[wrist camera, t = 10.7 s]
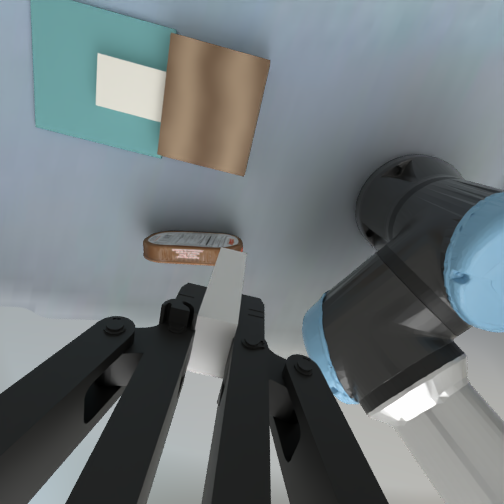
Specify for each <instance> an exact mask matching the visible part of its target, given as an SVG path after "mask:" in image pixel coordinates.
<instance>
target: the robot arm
mask: <svg viewBox="0 0 504 504" xmlns="http://www.w3.org/2000/svg"><path fill="white" fill-rule="evenodd" d="M356 221H357V225H358V228H359V230H360V232H361V234H362V235H363V236H364V238H365V239H366V240H367V241H368V242H369V243H370V244H371V245H372V246H373V247H374V248H376V249H377V250H379V251H378V252H377V253H375V254H373V255H372V256H371V257H370V258H369V259H367V260H366V261H365V262H364V263H363V264H361V265H360V266H359V267H358V268H357V269H355V270H354V271H353V272H352V273H351V274H350V275H348V276H347V277H346V278H345V279H343V280H342V281H341V282H340V283H338V284H337V285H336V286H335V287H333V288H332V289H331V290H329V291H327V292H325V293H324V294H323V295H322V297H321V299H320V300H319V301H318V302H317V303H315V304H314V305H313V306H312V307H311V308H310V309H309V310H308V311H307V312H306V314H305V316H304V319H303V327H302V334H303V340H304V344H305V347H306V351H307V353H308V356H309V358H308V357H306V356H304V355H298V354H297V355H291V356H290V357H288V359H287V360H286V359H284V358H282V357H280V356H278V355H276V354H274V353H273V352H272V351H271V350H270V349H269V348H268V345H267V342H266V341H265V339H264V304H263V302H262V301H261V299H260V298H256V297H251V296H247V295H243V294H242V288H243V281H244V273H245V265H246V257H247V253H244V252H240V251H235V250H231V249H227V248H223V247H221V249H220V252H219V255H218V258H217V261H216V264H215V266H214V269H213V272H212V275H211V278H210V281H209V284H208V287H204V286H200V285H196V284H191V283H188V284H186V285H184V286H183V287H181V289H180V291H179V293H178V295H177V297H176V299H170V300H168V301H165V302H164V303H163V304H162V307H161V314H160V321H159V325H157V326H154V327H148V328H135V325H134V323H133V321H131V320H130V319H128V318H125V317H121V316H112V317H108V318H104V319H102V320H101V321H99V322H97V323H96V324H95V325H93V326H92V327H91V328H89V329H88V330H86V331H85V332H84V333H82V334H81V335H80V336H78V337H77V338H76V339H74V340H73V341H72V342H70V343H69V344H68V345H66V346H65V347H63V348H62V349H61V350H59V351H58V352H57V353H55V354H54V355H53V356H51V357H50V358H48V359H47V360H46V361H44V362H43V363H42V364H40V365H39V366H38V367H36V368H35V369H34V370H32V371H31V372H30V373H28V374H27V375H25V376H24V377H23V378H22V379H20V380H19V381H17V382H16V383H15V384H13V385H12V386H11V387H9V388H8V389H6V390H5V391H4V392H2V393H1V394H0V504H28V502H29V501H30V500H31V499H32V498H33V497H34V495H35V494H36V493H37V492H38V491H39V489H41V487H42V486H43V485H44V484H45V483H46V482H47V480H48V479H49V478H50V477H51V476H52V475H53V473H54V472H55V471H56V470H57V469H58V468H59V466H60V465H61V464H62V463H63V462H64V461H65V460H66V458H67V457H68V456H69V455H70V454H71V453H72V452H73V450H74V449H75V448H76V447H77V446H78V444H79V443H80V442H81V441H82V440H83V439H84V438H85V437H86V435H87V434H88V433H89V432H90V431H91V430H92V428H93V427H94V426H95V425H96V424H97V423H98V422H99V420H100V419H101V418H102V417H103V416H104V415H105V413H106V412H107V411H108V410H109V409H110V408H111V407H112V405H113V404H114V403H115V402H116V401H117V399H118V398H119V397H120V396H121V395H122V396H121V398H120V400H119V402H118V403H117V405H116V407H115V409H114V411H113V413H112V415H111V417H110V419H109V421H108V423H107V425H106V427H105V428H104V430H103V432H102V434H101V436H100V438H99V440H98V442H97V444H96V446H95V448H94V450H93V452H92V453H91V455H90V457H89V459H88V461H87V463H86V465H85V467H84V469H83V471H82V473H81V475H80V476H79V479H78V480H77V482H76V484H75V486H74V488H73V490H72V492H71V494H70V496H69V498H68V500H67V502H66V503H65V504H146V503H147V500H148V497H149V493H150V490H151V487H152V483H153V480H154V477H155V474H156V470H157V467H158V464H159V461H160V457H161V454H162V451H163V448H164V444H165V441H166V438H167V434H168V431H169V428H170V425H171V422H172V418H173V415H174V411H175V409H176V405H177V402H178V398H179V395H180V392H181V389H182V386H183V382H184V377H185V373H186V371H189V372H194V373H199V374H204V375H209V376H213V377H218V378H223V377H224V378H223V382H222V386H221V389H220V393H219V397H218V400H217V404H218V407H217V414H216V420H215V426H214V432H213V438H212V444H211V450H210V456H209V462H208V468H207V474H206V480H205V486H204V492H203V498H202V504H271V495H270V494H271V489H270V430H269V425H270V429H271V432H272V436H273V440H274V444H275V448H276V451H277V456H278V459H279V463H280V467H281V471H282V475H283V478H284V482H285V486H286V490H287V494H288V498H289V502H290V504H389V503H388V502H387V499H386V498H385V496H384V494H383V492H382V490H381V488H380V486H379V484H378V482H377V480H376V478H375V476H374V474H373V472H372V470H371V468H370V466H369V464H368V462H367V460H366V458H365V456H364V454H363V452H362V450H361V448H360V446H359V444H358V442H357V440H356V438H355V437H354V434H353V432H352V430H351V428H350V427H349V425H348V423H347V421H346V419H345V417H344V415H343V413H342V411H341V409H340V407H339V405H338V403H337V401H336V399H335V397H336V398H338V399H339V400H340V401H342V402H344V403H346V404H359V403H360V404H361V406H362V407H363V409H364V411H365V412H366V414H367V415H368V417H369V418H371V419H374V420H378V421H381V422H384V423H386V424H389V425H390V426H392V427H393V428H394V429H395V431H396V432H397V434H398V435H399V436H400V438H401V439H402V441H403V442H404V444H405V445H406V447H407V448H408V450H409V451H410V453H411V454H412V456H413V457H414V459H415V460H416V462H417V463H418V464H419V466H420V467H421V469H422V470H423V472H424V473H425V475H426V476H427V478H428V479H429V481H430V482H431V483H432V485H433V487H434V488H435V489H436V491H437V493H438V494H439V495H440V497H441V498H442V500H443V501H444V503H445V504H504V421H503V420H502V419H501V418H500V416H499V415H498V414H497V413H496V412H495V411H494V410H493V409H492V408H491V406H490V405H489V404H488V403H487V402H486V401H485V400H484V398H483V397H481V395H480V394H479V393H478V392H477V391H476V389H475V388H474V387H473V386H472V385H471V384H470V382H469V380H468V378H467V370H468V367H467V365H468V363H467V362H468V357H467V355H466V354H465V353H464V352H463V351H462V350H461V349H460V348H459V347H458V346H457V345H456V344H455V343H454V341H453V339H454V338H456V337H457V336H459V335H460V334H462V333H463V332H465V331H466V330H468V329H469V328H471V327H473V326H474V327H476V328H480V329H483V330H486V331H491V332H504V190H501V189H497V188H494V187H490V186H486V185H482V184H478V183H474V182H471V181H467V180H465V179H464V178H463V177H462V176H461V174H460V173H459V172H458V171H457V170H456V169H455V168H454V167H453V166H452V165H450V164H449V163H447V162H445V161H443V160H441V159H438V158H435V157H430V156H425V155H408V156H403V157H399V158H396V159H394V160H392V161H390V162H388V163H386V164H384V165H383V166H381V167H380V168H379V169H378V170H376V171H375V172H374V173H373V174H372V175H371V176H370V177H369V179H368V180H367V181H366V183H365V184H364V186H363V187H362V189H361V191H360V194H359V196H358V200H357V204H356ZM334 396H335V397H334Z"/></svg>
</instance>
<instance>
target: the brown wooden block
mask: <svg viewBox="0 0 504 504" xmlns="http://www.w3.org/2000/svg"><path fill="white" fill-rule="evenodd" d="M269 67H270V60H267V59H264V58H260V57H257V56H253V55H249V54H246V53H242V52H239V51H235V50H232V49H228V48H224V47H221V46H217V45H214V44H210V43H207V42H203V41H199V40H196V39H192V38H189V37H185V36H182V35H178V34H174V33H171V35H170V44H169V53H168V62H167V71H166V80H165V89H164V98H163V107H162V116H161V125H160V134H159V143H158V152H157V155H161V156H165V157H168V158H172V159H176V160H180V161H184V162H188V163H192V164H196V165H200V166H204V167H208V168H212V169H216V170H220V171H224V172H228V173H232V174H236V175H239V176H243V177H244V175H245V172H246V168H247V163H248V159H249V155H250V150H251V146H252V141H253V137H254V133H255V128H256V124H257V120H258V115H259V111H260V107H261V102H262V98H263V94H264V89H265V85H266V80H267V76H268V72H269Z"/></svg>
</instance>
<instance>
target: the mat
mask: <svg viewBox="0 0 504 504" xmlns="http://www.w3.org/2000/svg"><path fill="white" fill-rule="evenodd" d="M30 2H31V26H32V50H33V74H34V98H35V122H36V127H38V128H42V129H46V130H50V131H54V132H57V133H61V134H65V135H69V136H73V137H77V138H81V139H85V140H89V141H93V142H97V143H101V144H105V145H109V146H113V147H117V148H121V149H125V150H129V151H133V152H137V153H141V154H144V155H148V156H152V157H156V158H160V159H161V158H162V156H161V155H157V152H158V143H159V134H160V125H161V122H157V121H154V120H150V119H146V118H142V117H139V116H135V115H131V114H127V113H124V112H120V111H116V110H112V109H108V108H105V107H101V106H97V105H96V82H97V55H98V53H100V54H103V55H107V56H111V57H114V58H118V59H121V60H125V61H129V62H132V63H136V64H139V65H143V66H147V67H150V68H154V69H157V70H161V71H165V72H166V71H167V62H168V53H169V44H170V35H171V33H174V34H177V31H176V30H175V29H171V28H168V27H164V26H161V25H157V24H154V23H150V22H146V21H143V20H139V19H136V18H132V17H129V16H125V15H121V14H118V13H114V12H111V11H107V10H104V9H100V8H96V7H93V6H89V5H86V4H82V3H79V2H75V1H72V0H30Z"/></svg>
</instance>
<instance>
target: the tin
mask: <svg viewBox="0 0 504 504" xmlns="http://www.w3.org/2000/svg"><path fill="white" fill-rule="evenodd" d="M143 247H144V254H143V256H144V258H145V259H147V260H150V261H153V262H158V263H173V264H191V265H208V266H215V264H216V261H217V258H218V255H219V252H220V249H221V247H223V248H227V249H231V250H235V251H240V252H243V243H242V240H241V239H240V238H239V237H237V236H234V235H230V234H224V233H209V232H191V231H164V232H158V233H154V234H152V235H150V236H148V237H147V238H145V239H144V241H143Z"/></svg>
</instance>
